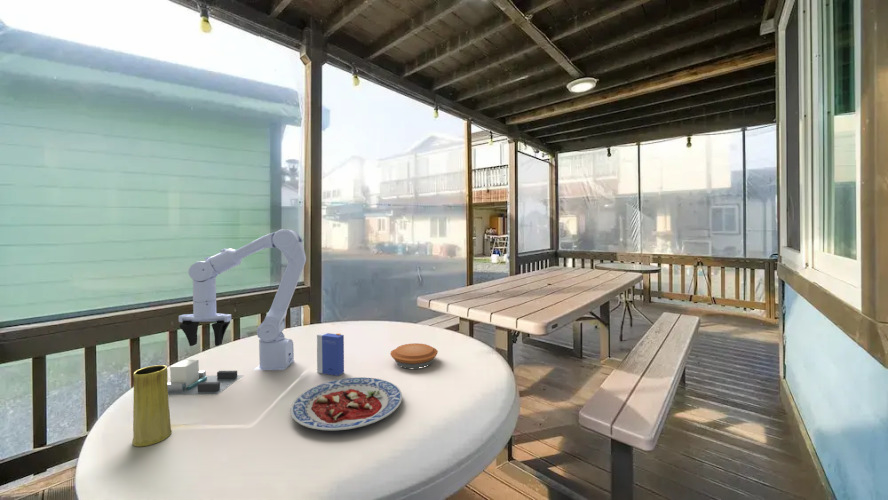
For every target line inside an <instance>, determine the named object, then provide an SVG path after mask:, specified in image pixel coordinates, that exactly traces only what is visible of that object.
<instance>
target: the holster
mask: <svg viewBox="0 0 888 500" xmlns="http://www.w3.org/2000/svg"><path fill="white" fill-rule="evenodd" d="M216 375H217V379H236V378H237V375H238V370H218V371H217V372H216ZM219 390H220V382H201V383H199V384H198V392H217V391H219Z"/></svg>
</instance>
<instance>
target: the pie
mask: <svg viewBox="0 0 888 500" xmlns="http://www.w3.org/2000/svg"><path fill="white" fill-rule="evenodd" d="M438 353H439V351H438V350H437V349H436V348H435V347H434V346H431V345H429V344H426V343H415V342H414V343H406V344H402V345H400V346H398V347H395V348H394V349H393V350H391V351H390V353H389V354H390V357H392V359H394V362H395V363H396V365H397V366H399V367H400V366H402V367H406V368H419V367H424V366H427V365H429V364H430V365H431V364H432V363H433V361H434V360H435V358H436V357H437V355H438ZM430 365H429V366H430ZM402 367H401V368H402ZM427 367H428V366H427ZM406 368H405V369H406Z"/></svg>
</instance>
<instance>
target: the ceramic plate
mask: <svg viewBox="0 0 888 500" xmlns="http://www.w3.org/2000/svg"><path fill="white" fill-rule="evenodd" d="M402 399H403V393H402V391H401V390H400V388H399V387H398V386H397V385H395V384H394V383H392V382H391V381H387V380H384V379H382V378H381V379H380V378H374V377H365V376H364V377H360V376H359V377H348V378H340V379H335V380H331V381H328V382H324V383H321V384H319V385H315V386H314V387H312V388H310V389H308V390H306V391H305V392H303V393H301V394H300V395H298V397H297V398H296V399H295V400H294V401H293V403H292V404H291V407H290V415H291V417H292V419H293V420H294V421H295V422H297V424H299V425H301V426H302V427H306V428H309V429H313V430H318V431H319V430H320V431H346V430H351V429H357V428H361V427H365V426H369V425H371V424H374V423H376V422H379V421H381V420H383V419H385V418H386V417H387V418H388V416H390V415H391V414H393V413H394V412H395V411H396V410H397V409H398V407H400V405H401V403H402Z"/></svg>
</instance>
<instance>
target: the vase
mask: <svg viewBox="0 0 888 500" xmlns="http://www.w3.org/2000/svg"><path fill="white" fill-rule="evenodd" d="M168 373H169V372H168V366H167V365H163V364H158V365H150V366H145V367H142V368H140V369H136V370H134V372H133V373H132V374H133V375H132V376H133V405H132V406H133V409H132V410H133V411H132V412H133V415H132V417H133V419H132V431H133V435H132V443H131V444H132V446H134V447H139V448H140V447H148V446H151V445H155V444H157V443H161V442H162V441H165V440H166V439H167V438H168V437H170V436H171V434H172V424H171V414H170V403H169V395H168V383H169V382H168V381H169V379H168V376H169V375H168Z"/></svg>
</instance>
